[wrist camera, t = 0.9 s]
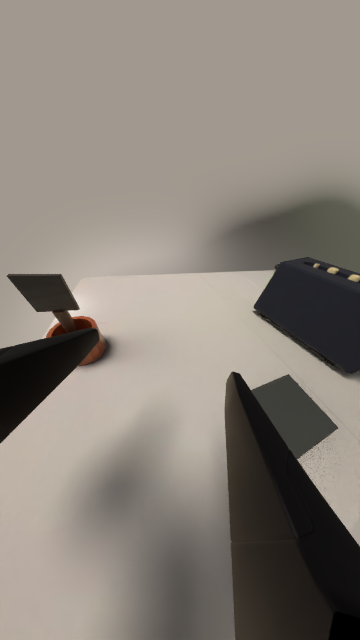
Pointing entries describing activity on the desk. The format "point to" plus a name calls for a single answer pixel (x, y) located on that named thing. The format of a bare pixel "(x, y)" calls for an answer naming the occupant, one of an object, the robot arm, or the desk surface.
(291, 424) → the mat
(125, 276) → the desk surface
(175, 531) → the desk surface
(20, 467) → the desk surface
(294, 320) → the speaker
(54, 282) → the spatula
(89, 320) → the crock
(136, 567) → the desk surface
